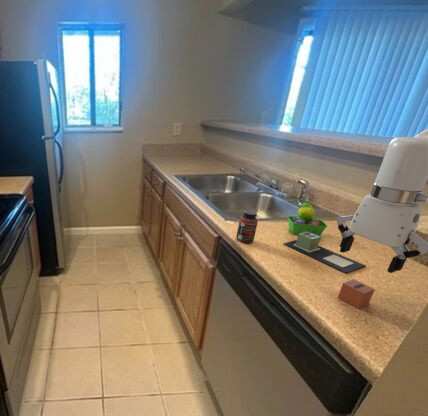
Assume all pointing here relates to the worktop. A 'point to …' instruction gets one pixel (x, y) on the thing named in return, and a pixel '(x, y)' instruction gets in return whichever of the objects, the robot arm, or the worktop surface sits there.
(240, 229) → the supplement bottle
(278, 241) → the worktop surface
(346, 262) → the word mat
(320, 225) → the fruit basket
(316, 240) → the block
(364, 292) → the block
